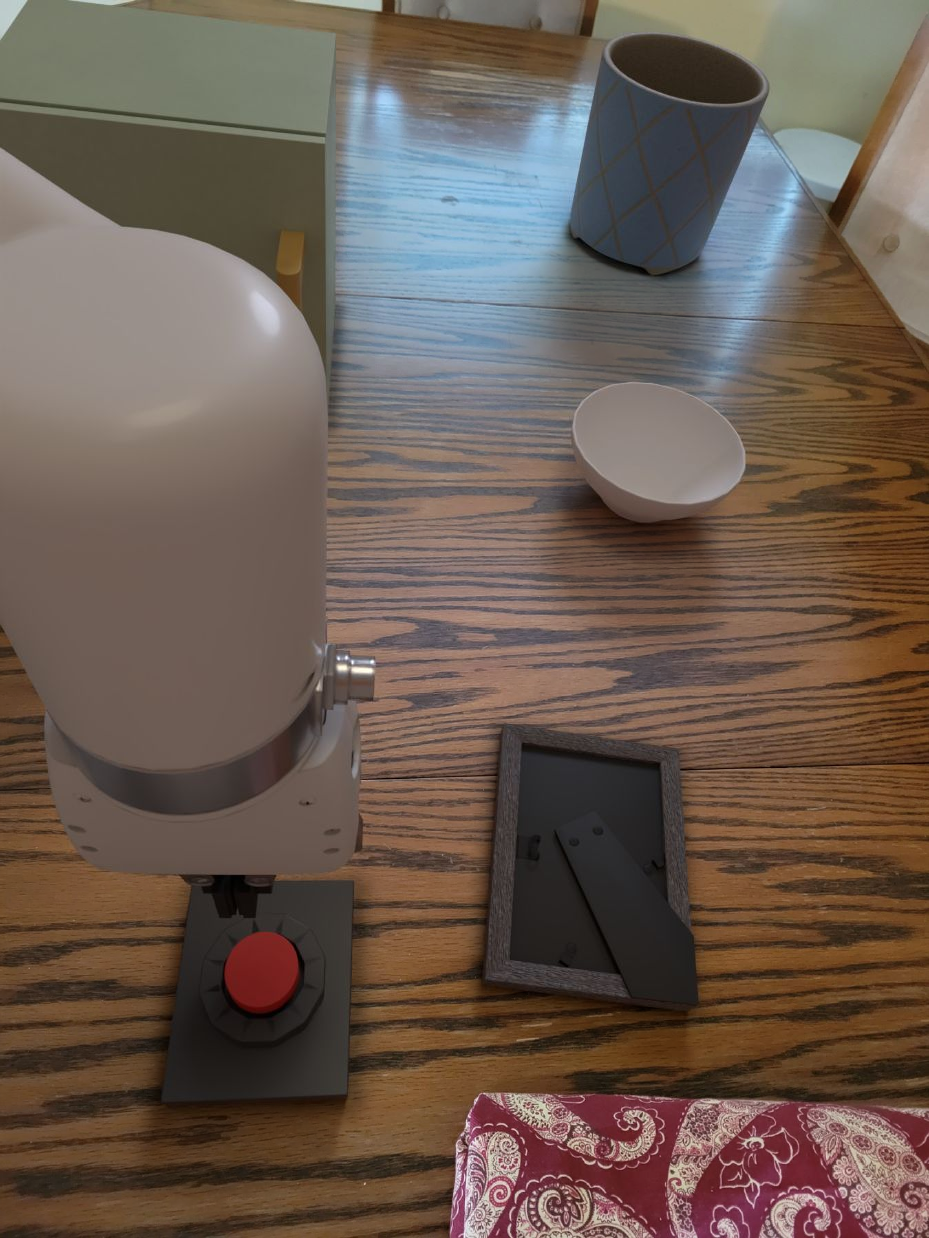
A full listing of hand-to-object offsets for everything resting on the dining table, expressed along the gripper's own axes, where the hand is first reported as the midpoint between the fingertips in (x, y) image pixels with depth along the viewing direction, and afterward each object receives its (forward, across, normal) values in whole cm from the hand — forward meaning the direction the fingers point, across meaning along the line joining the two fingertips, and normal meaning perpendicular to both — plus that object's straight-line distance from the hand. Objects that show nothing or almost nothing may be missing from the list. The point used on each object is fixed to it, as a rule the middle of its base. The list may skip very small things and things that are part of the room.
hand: (241, 884), depth 39 cm
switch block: (+15, -1, +1) cm, 16 cm away
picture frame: (+15, -22, -7) cm, 27 cm away
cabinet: (+16, +11, -60) cm, 63 cm away
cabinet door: (+16, +11, -47) cm, 51 cm away
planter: (+16, -39, -90) cm, 99 cm away
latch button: (+12, -1, +1) cm, 12 cm away
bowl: (+16, -31, -43) cm, 55 cm away
